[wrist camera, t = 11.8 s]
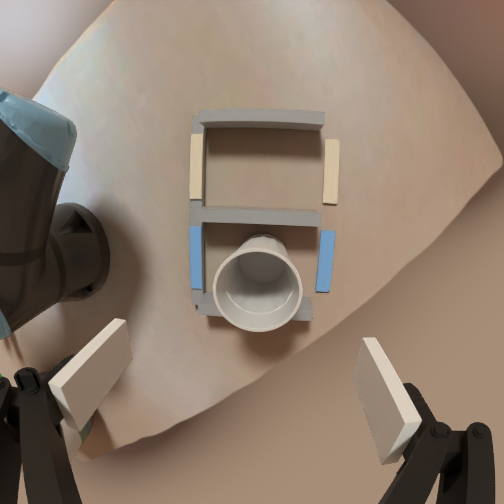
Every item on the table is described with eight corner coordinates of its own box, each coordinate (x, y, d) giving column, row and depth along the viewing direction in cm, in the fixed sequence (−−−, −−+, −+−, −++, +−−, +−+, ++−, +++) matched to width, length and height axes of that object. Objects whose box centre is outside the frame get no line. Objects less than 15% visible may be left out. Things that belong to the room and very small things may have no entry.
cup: (302, 276, 37) (313, 318, 26) (244, 295, 38) (231, 341, 27) (282, 218, 36) (286, 235, 24) (222, 239, 37) (199, 264, 25)
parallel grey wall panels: (194, 301, 39) (186, 313, 35) (195, 117, 33) (186, 110, 30) (326, 308, 38) (331, 321, 34) (338, 121, 32) (346, 114, 28)
